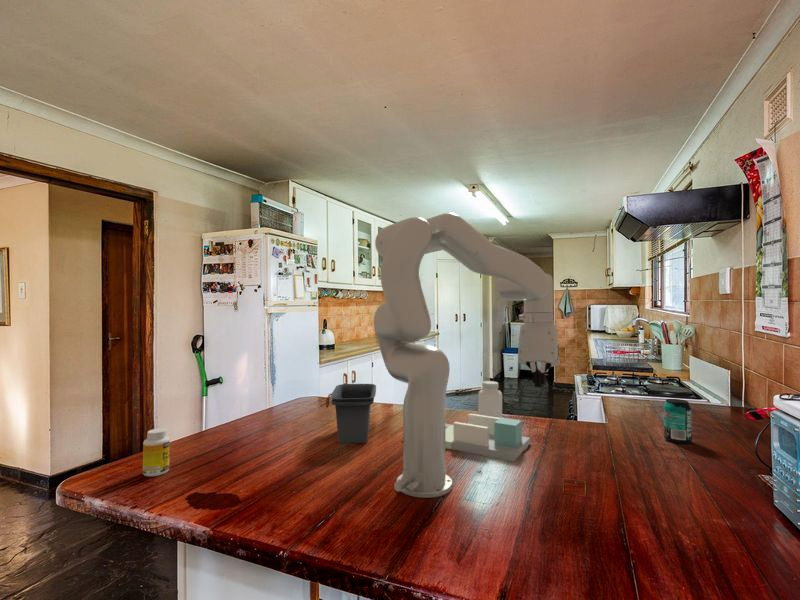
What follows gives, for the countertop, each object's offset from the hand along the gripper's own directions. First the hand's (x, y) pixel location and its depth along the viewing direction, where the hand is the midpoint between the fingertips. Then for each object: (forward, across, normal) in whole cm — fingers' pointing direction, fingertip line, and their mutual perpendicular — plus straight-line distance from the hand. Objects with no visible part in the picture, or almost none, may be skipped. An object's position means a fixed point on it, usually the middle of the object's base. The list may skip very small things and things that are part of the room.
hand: (539, 386), depth 111 cm
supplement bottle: (+18, -77, -61) cm, 100 cm away
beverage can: (+19, +32, +35) cm, 51 cm away
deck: (+19, -22, 0) cm, 29 cm away
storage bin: (+19, -55, -13) cm, 59 cm away
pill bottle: (+19, -21, +19) cm, 34 cm away
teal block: (+17, -9, 0) cm, 19 cm away
